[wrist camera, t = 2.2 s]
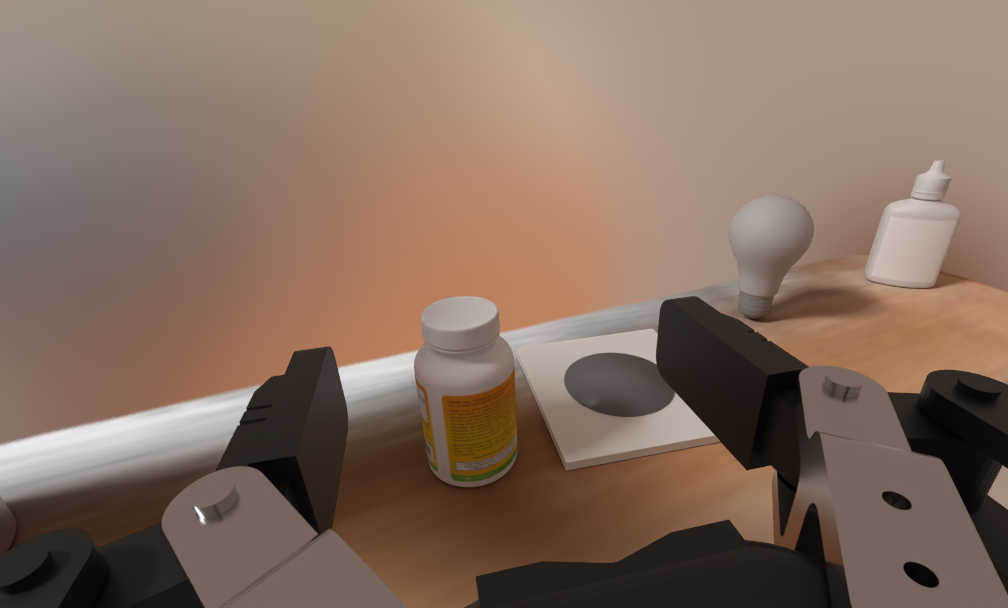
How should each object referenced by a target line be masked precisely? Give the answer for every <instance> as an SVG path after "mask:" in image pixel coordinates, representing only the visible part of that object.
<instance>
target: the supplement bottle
mask: <svg viewBox="0 0 1008 608" xmlns="http://www.w3.org/2000/svg"><path fill="white" fill-rule="evenodd" d="M421 324H422V336H423V338H424V341H425V343H424V344H423V346H422V347H421V348H420V349H419V351H418V353H417V354H416V357H415V362H414V370H415V379H416V385H417V392H418V399H419V406H420V413H421V419H422V426H423V432H424V439H425V446H426V453H427V458H428V462H429V465H430V468H431V470H432V471H433V473H434V474H435V475H436V476H437V477H438V478H439V479H441V480H442V481H444V482H446V483H448V484H451V485H454V486H459V487H478V486H483V485H487V484H490V483H492V482H494V481H496V480H498V479H500V478H501V477H502V476H504V475H505V474H506V473H507V472H508V471H509V470H510V469H511V467H512V466H513V464H514V462H515V459H516V456H517V425H516V401H515V375H514V357H513V352H512V350H511V348H510V346H509V344H508V343H507V342H506V341H505V340H504V339H503V338H502V337H500V336H499V330H500V324H499V313H498V308H497V306H496V305H495V304H494V303H493V302H491V301H489V300H487V299H484V298H480V297H473V296H460V297H451V298H446V299H442V300H439V301H437V302H434V303H432V304H430V305H429V306H428V307H426V308H425V309H424V311H423V312H422V315H421Z"/></svg>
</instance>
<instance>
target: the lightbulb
mask: <svg viewBox="0 0 1008 608" xmlns="http://www.w3.org/2000/svg"><path fill="white" fill-rule="evenodd" d="M813 235H814V225H813V220H812V218H811V216H810V214H809V212H808V211H807V209H806V208H805V207H804V206H803V205H802V204H800V203H799V202H798V201H795V200H794V199H792V198H789V197H785V196H780V195H771V196H764V197H760V198H757V199H755V200H753V201H751V202H749V203H747V204H746V205H745V206H744V207H742V208H741V209H740V210H739V211H738V212H737V214H736V215H735V217H734V219H733V221H732V223H731V225H730V229H729V240H730V244H731V247H732V250H733V253H734V255H735V257H736V260H737V263H738V268H739V283H738V287H739V289H740V295H739V304H738V309H739V311H740V312H741V313H743V314H744V315H746V317H747V318H750V319H757V318H759V317H764V316H766V315H767V314H768V313H769V311H770V308H771V305H772V301H773V297H774V295H776V294H777V293H778V290H779V287H780V284H781V282H782V280H783V278H784V276H785V275H786V273H787V272H788V270H789V269H790V268H791V267H792V266H793V265H794V264H795V263H796V262H797V261H798V260H799V259H800V258H801V256H802V255H803V254H804V253H805V252H806V251H807V250H808V248H809V246H810V244H811V242H812V239H813Z"/></svg>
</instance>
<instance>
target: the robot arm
mask: <svg viewBox="0 0 1008 608" xmlns="http://www.w3.org/2000/svg"><path fill="white" fill-rule="evenodd" d="M656 363H657V367H658V370H659V373H660V375H661V377H662V378H663V379H664V380H665V381H666V383H667V384H668V385H669V386H670V387H671V388H672V389H673V390H674V391H675V392H676V393H677V395H678V396H679V397H680V398H681V399H682V400H683V401H684V402H685V403H686V404H687V405H688V407H689V408H690V409H691V410H692V411H693V412H694V413H695V414H696V415H697V416H698V418H699V419H700V420H701V421H702V422H703V423H704V424H705V425H706V426H707V427H708V428H709V430H710V431H711V432H712V433H713V434H714V435H715V436H716V437H717V438H718V439H719V440H720V442H721V443H722V444H723V445H724V446H725V447H726V448H727V449H728V450H729V451H730V452H731V454H732V455H733V456H734V457H735V458H736V459H737V460H738V461H739V462H740V463H741V464H742V466H743V467H744V468H745V469H746V470H750V469H755V468H760V467H765V466H769V465H771V466H772V467H773V468H774V469H775V472H774V476H773V480H772V497H773V522H774V544H769V543H763V542H756V541H747V540H744V539H743V537H742V536H741V535H740V533H739V532H738V531H737V529H736V528H735V527H734V526H733V524H732V523H731V522H730V520H725V521H720V522H716V523H711V524H707V525H702V526H698V527H694V528H689V529H685V530H680V531H676V532H671V533H669V534H667V535H666V536H664V537H662V538H660V539H658V540H657V541H655V542H653V543H651V544H649V545H648V546H646V547H644V548H642V549H640V550H639V551H637V552H635V553H633V554H631V555H629V556H628V557H626V558H624V559H622V560H620V561H618V562H614V563H585V562H538V563H534V564H529V565H525V566H520V567H516V568H511V569H507V570H502V571H498V572H494V573H489V574H485V575H480V576H476V582H477V590H478V598H479V600H477V601H476V602H474V603H472V604H470V605H468V606H466V607H465V608H1008V510H1007V509H1006V508H1005V507H1003V506H1002V505H1001V504H999V503H998V502H996V501H995V500H994V499H992V498H991V497H990V496H988V495H987V494H988V492H989V490H990V488H991V486H992V484H993V482H994V480H995V479H996V476H997V475H998V473H999V471H1000V469H1001V467H1002V465H1003V466H1005V467H1006V468H1008V385H1007V384H1005V383H1002V382H1000V381H997V380H995V379H992V378H989V377H986V376H982V375H979V374H975V373H970V372H965V371H958V370H938V371H934V372H931V373H929V374H928V375H927V377H926V380H925V383H924V385H923V388H922V390H921V393H920V394H917V393H893V392H886V390H885V389H884V388H883V387H882V386H881V385H880V384H879V383H877V382H876V381H874V380H873V379H871V378H869V377H867V376H865V375H863V374H860V373H858V372H855V371H852V370H848V369H845V368H840V367H834V366H813V367H808V366H807V365H805V364H804V363H802V362H801V361H799V360H798V359H796V358H795V357H793V356H792V355H790V354H789V353H787V352H786V351H784V350H783V349H782V348H780V347H779V346H777V345H776V344H774V343H773V342H771V341H767V338H765V337H764V336H762V335H761V334H759V333H758V332H756V333H755V332H754V330H753V329H752V328H750V327H749V326H747V325H746V324H744V323H743V322H741V321H740V320H738V319H735V318H733V317H730V316H727V315H725V314H722V313H720V312H718V311H717V310H716V309H714V308H713V307H711V306H710V305H708V304H707V303H705V302H704V301H702V300H701V299H700V298H698V297H696V296H691V297H684V298H677V299H670V300H665V301H664V302H663V303H662V305H661V308H660V316H659V326H658V337H657V347H656ZM246 409H247V411H246V412H244V414H243V416H242V418H241V420H240V425H239V426H237V428H236V430H235V432H234V434H233V436H232V438H231V440H230V442H229V444H228V446H227V449H226V451H225V453H224V455H223V457H222V459H221V461H220V463H219V465H218V467H217V469H216V471H215V472H213V473H211V474H208V475H206V476H204V477H202V478H200V479H199V480H197V481H195V482H194V483H192V484H191V485H189V486H188V487H186V488H185V489H184V490H183V491H181V492H180V493H179V494H178V495H177V496H176V497H175V498H174V499H173V500H172V501H171V503H170V504H169V506H168V507H167V509H166V511H165V512H164V515H163V518H162V522H160V523H158V524H156V525H154V526H151V527H149V528H146V529H144V530H141V531H139V532H136V533H134V534H131V535H129V536H126V537H124V538H121V539H119V540H116V541H114V542H111V543H109V544H106V545H104V546H101V547H99V548H98V546H97V545H96V543H95V541H94V540H93V538H92V537H91V535H90V534H89V533H88V532H86V531H84V530H81V529H63V530H57V531H53V532H50V533H46V534H43V535H41V536H38V537H35V538H33V539H31V540H28V541H26V542H24V543H22V544H20V545H18V546H16V547H14V548H13V549H11V550H9V551H8V552H7V550H8V549H9V547H10V545H11V543H12V541H13V538H14V536H15V534H16V524H17V522H16V520H15V518H14V516H13V513H12V512H11V511H10V509H9V508H8V506H7V505H6V504H5V502H4V501H3V499H2V498H1V496H0V608H408V607H407V606H406V605H405V604H404V603H403V602H402V601H401V600H400V599H399V598H398V597H397V596H396V595H395V594H394V592H393V591H392V590H391V589H390V588H389V587H388V586H387V585H386V584H385V583H384V582H383V581H382V580H381V579H380V578H379V577H378V576H377V575H376V574H375V573H374V572H373V571H372V570H371V569H370V568H369V566H368V565H367V564H366V563H365V562H364V561H363V560H362V559H361V558H360V557H359V556H358V555H357V554H356V553H355V552H354V551H353V550H352V549H351V548H350V547H349V546H348V545H347V544H346V543H345V541H344V540H343V539H342V538H341V537H340V536H339V535H338V534H337V533H335V532H334V531H333V530H332V525H333V519H334V513H335V506H336V500H337V494H338V488H339V482H340V475H341V469H342V463H343V457H344V451H345V444H346V438H347V432H348V413H347V406H346V401H345V397H344V393H343V389H342V385H341V381H340V376H339V372H338V368H337V364H336V361H335V356H334V353H333V350H332V348H331V347H322V348H315V349H308V350H301V351H295V352H294V353H293V355H292V358H291V360H290V363H289V365H288V367H287V370H286V372H285V375H280V376H273V377H271V378H270V379H268V380H267V381H266V382H265V383H264V384H263V385H262V386H261V387H260V388H258V389H257V390H256V391H255V392H254V394H253V396H252V398H251V400H250V402H249V404H248V406H247V408H246Z"/></svg>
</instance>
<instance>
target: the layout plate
mask: <svg viewBox="0 0 1008 608" xmlns="http://www.w3.org/2000/svg"><path fill="white" fill-rule="evenodd" d="M657 337H658V334H657V333H656V332H655V331H654V330H653V329H646V330H639V331H632V332H625V333H618V334H610V335H603V336H596V337H589V338H582V339H575V340H567V341H560V342H553V343H546V344H539V345H532V346H525V347H517V348H516V356H517V358H518V360H519V363H520V365H521V367H522V370H523V372H524V374H525V377H526V379H527V381H528V384H529V386H530V388H531V391H532V393H533V395H534V398H535V400H536V402H537V405H538V407H539V409H540V412H541V414H542V416H543V419H544V421H545V423H546V426H547V428H548V430H549V433H550V435H551V437H552V440H553V442H554V444H555V447H556V449H557V451H558V454H559V456H560V458H561V461H562V463H563V465H564V468H565V470H566V471H567V470H573V469H578V468H583V467H589V466H594V465H599V464H605V463H610V462H615V461H621V460H626V459H631V458H637V457H642V456H647V455H653V454H658V453H664V452H669V451H674V450H680V449H685V448H690V447H696V446H701V445H706V444H712V443H717V442H720V440H719V439H718V438H717V437H716V436H715V435H714V434H713V433H712V432H711V431H710V430H709V428H708V427H707V426H706V425H705V424H704V423H703V422H702V421H701V420H700V419H699V418H698V416H697V415H696V414H695V413H694V412H693V411H692V410H691V409H690V408H689V407H688V405H687V404H686V403H685V402H684V401H683V400H682V399H681V398H680V397H679V396H678V395H677V393H676V392H675V391H674V390H673V389H672V388H671V387H670V386H669V385H668V384H667V383H666V381H665V380H664V379H663V378H662V377H661V375H660V373H659V370H658V367H657V363H656V347H657Z"/></svg>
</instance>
